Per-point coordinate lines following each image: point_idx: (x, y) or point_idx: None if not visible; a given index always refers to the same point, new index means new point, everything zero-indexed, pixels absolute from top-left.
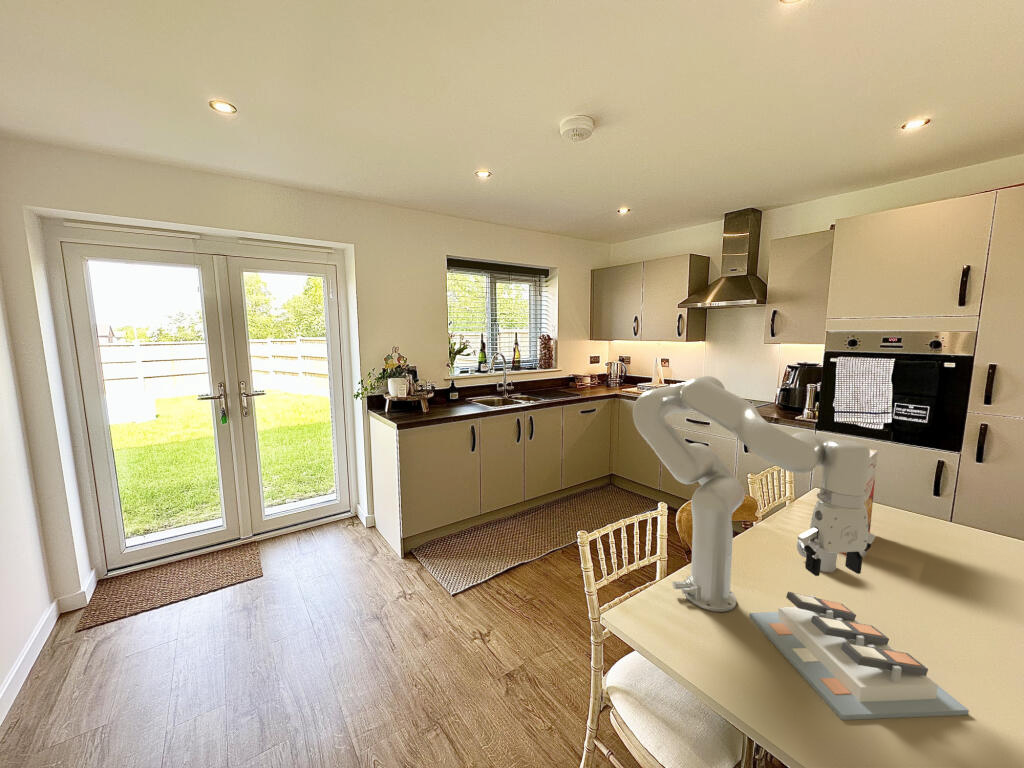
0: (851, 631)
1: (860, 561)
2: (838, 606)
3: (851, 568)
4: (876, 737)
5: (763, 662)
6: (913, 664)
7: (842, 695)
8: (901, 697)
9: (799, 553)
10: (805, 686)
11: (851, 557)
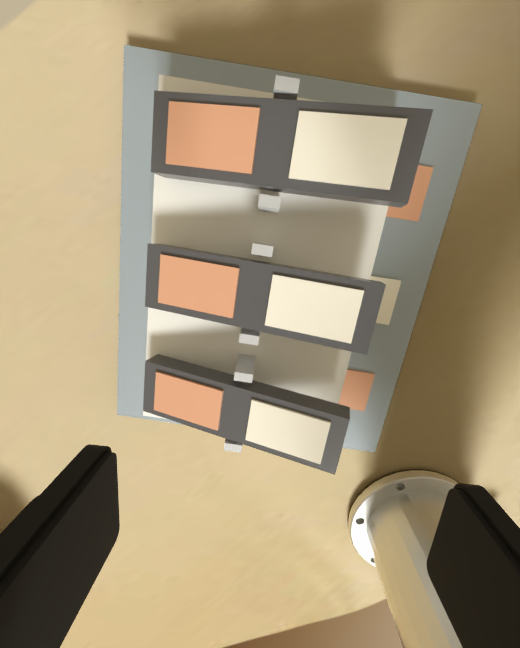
0: (277, 272)
1: (10, 553)
2: (178, 397)
3: (110, 502)
4: (440, 43)
5: (481, 310)
6: (196, 103)
7: None
8: None
9: None
10: (454, 222)
11: (44, 621)
